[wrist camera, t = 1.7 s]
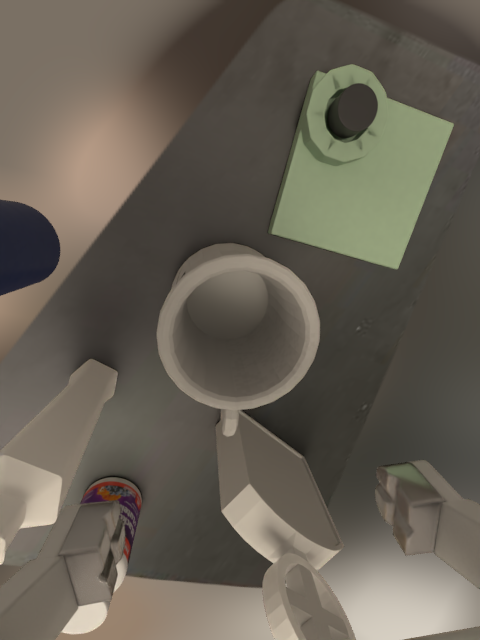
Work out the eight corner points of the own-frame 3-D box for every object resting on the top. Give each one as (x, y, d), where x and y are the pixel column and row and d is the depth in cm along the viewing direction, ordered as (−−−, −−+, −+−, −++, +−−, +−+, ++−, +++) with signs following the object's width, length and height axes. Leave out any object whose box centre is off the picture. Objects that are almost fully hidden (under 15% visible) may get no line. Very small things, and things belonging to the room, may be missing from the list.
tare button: (321, 131, 22) (332, 123, 20) (334, 88, 21) (346, 76, 19) (356, 143, 22) (369, 137, 20) (370, 102, 21) (384, 91, 20)
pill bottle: (153, 489, 31) (133, 601, 22) (124, 527, 32) (92, 650, 23) (102, 465, 30) (57, 574, 20) (73, 506, 31) (18, 628, 21)
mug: (172, 237, 25) (154, 245, 15) (286, 246, 26) (336, 258, 16) (169, 382, 28) (152, 462, 19) (270, 384, 29) (303, 460, 20)
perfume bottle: (56, 390, 27) (-105, 573, 13) (80, 349, 26) (-64, 494, 12) (107, 413, 28) (10, 605, 14) (131, 374, 28) (54, 534, 13)
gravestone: (285, 475, 32) (379, 754, 15) (215, 425, 30) (234, 694, 13) (304, 457, 32) (422, 722, 15) (234, 405, 30) (281, 653, 12)
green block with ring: (264, 232, 26) (272, 233, 23) (308, 73, 23) (323, 51, 20) (388, 267, 28) (409, 272, 25) (442, 125, 25) (473, 112, 22)
